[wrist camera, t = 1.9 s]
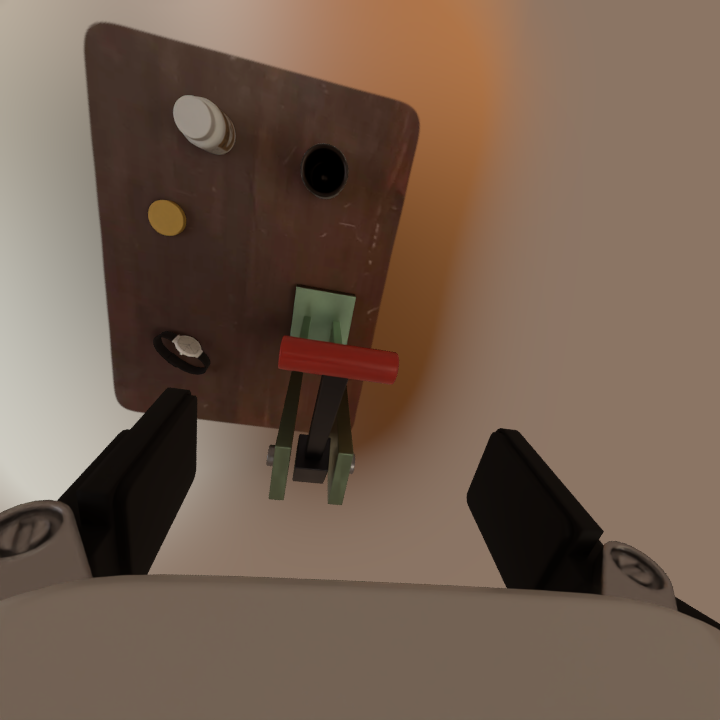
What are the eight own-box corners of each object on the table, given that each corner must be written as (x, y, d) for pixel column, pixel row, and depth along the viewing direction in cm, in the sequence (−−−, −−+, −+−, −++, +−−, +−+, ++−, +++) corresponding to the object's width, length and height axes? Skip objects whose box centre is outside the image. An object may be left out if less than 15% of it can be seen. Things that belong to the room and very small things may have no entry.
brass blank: (144, 208, 42) (140, 208, 41) (173, 194, 42) (170, 194, 41) (165, 240, 44) (161, 241, 43) (193, 227, 43) (190, 227, 42)
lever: (285, 319, 15) (276, 365, 13) (398, 337, 16) (400, 382, 14) (277, 447, 26) (272, 479, 24) (343, 453, 27) (342, 485, 25)
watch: (219, 354, 50) (211, 364, 47) (201, 376, 51) (192, 388, 48) (170, 320, 48) (158, 329, 44) (152, 345, 49) (139, 355, 46)
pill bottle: (240, 153, 40) (222, 141, 33) (202, 157, 40) (176, 146, 33) (231, 107, 39) (209, 85, 32) (191, 111, 39) (160, 90, 32)
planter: (315, 149, 41) (311, 133, 32) (350, 169, 42) (356, 158, 33) (300, 188, 42) (293, 183, 33) (334, 206, 44) (336, 206, 34)
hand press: (297, 284, 47) (255, 389, 20) (355, 294, 48) (389, 407, 21) (287, 363, 52) (241, 538, 25) (340, 371, 53) (352, 545, 26)
